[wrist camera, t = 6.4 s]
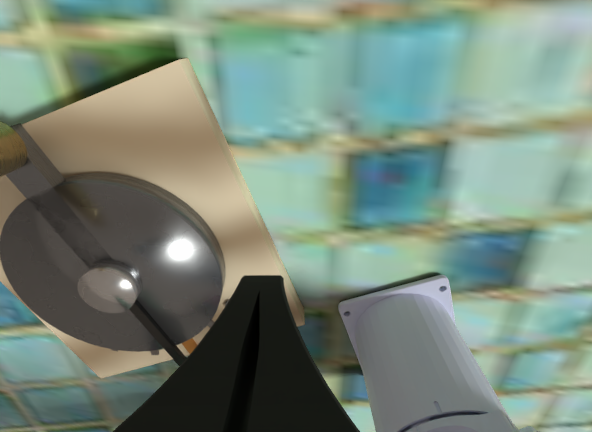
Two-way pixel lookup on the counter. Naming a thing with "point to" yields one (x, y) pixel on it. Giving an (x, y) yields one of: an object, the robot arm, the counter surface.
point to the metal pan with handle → (107, 254)
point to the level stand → (158, 181)
